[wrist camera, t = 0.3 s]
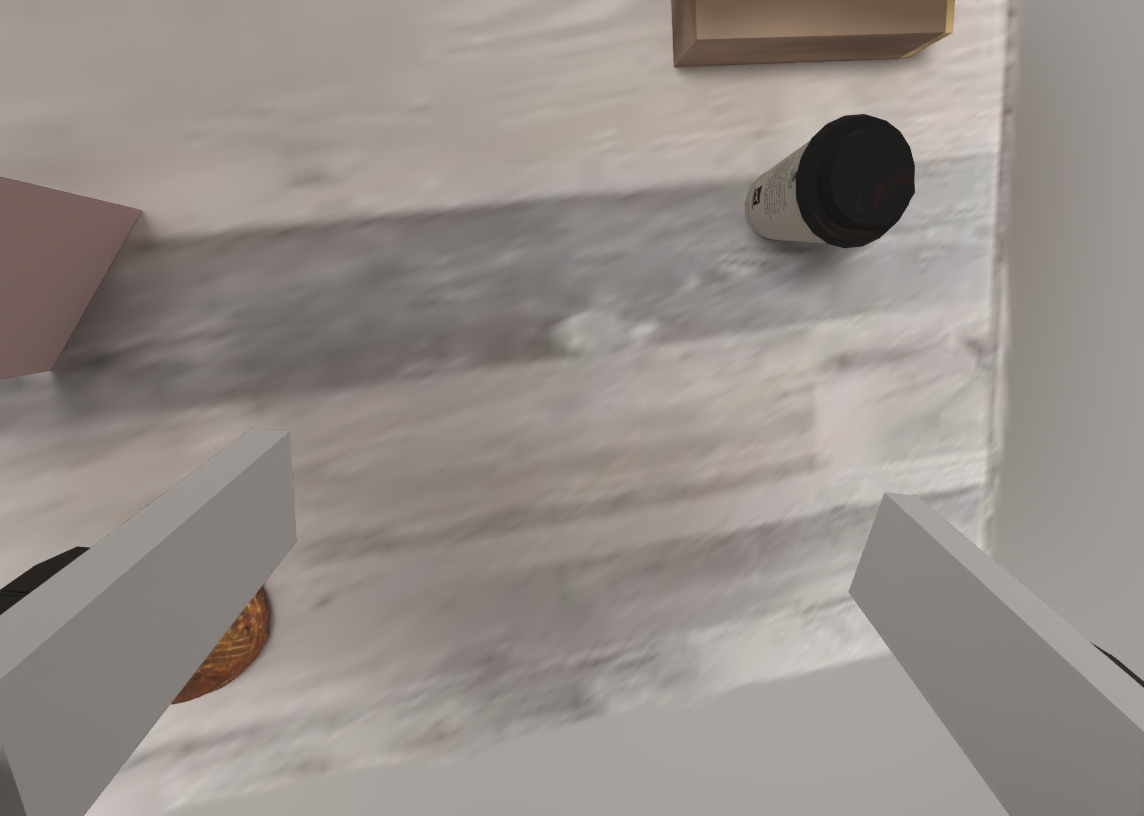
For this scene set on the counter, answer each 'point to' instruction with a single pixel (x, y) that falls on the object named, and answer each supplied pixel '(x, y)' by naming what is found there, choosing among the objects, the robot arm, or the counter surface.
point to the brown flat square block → (805, 30)
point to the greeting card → (50, 268)
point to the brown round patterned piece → (231, 651)
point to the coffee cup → (836, 186)
